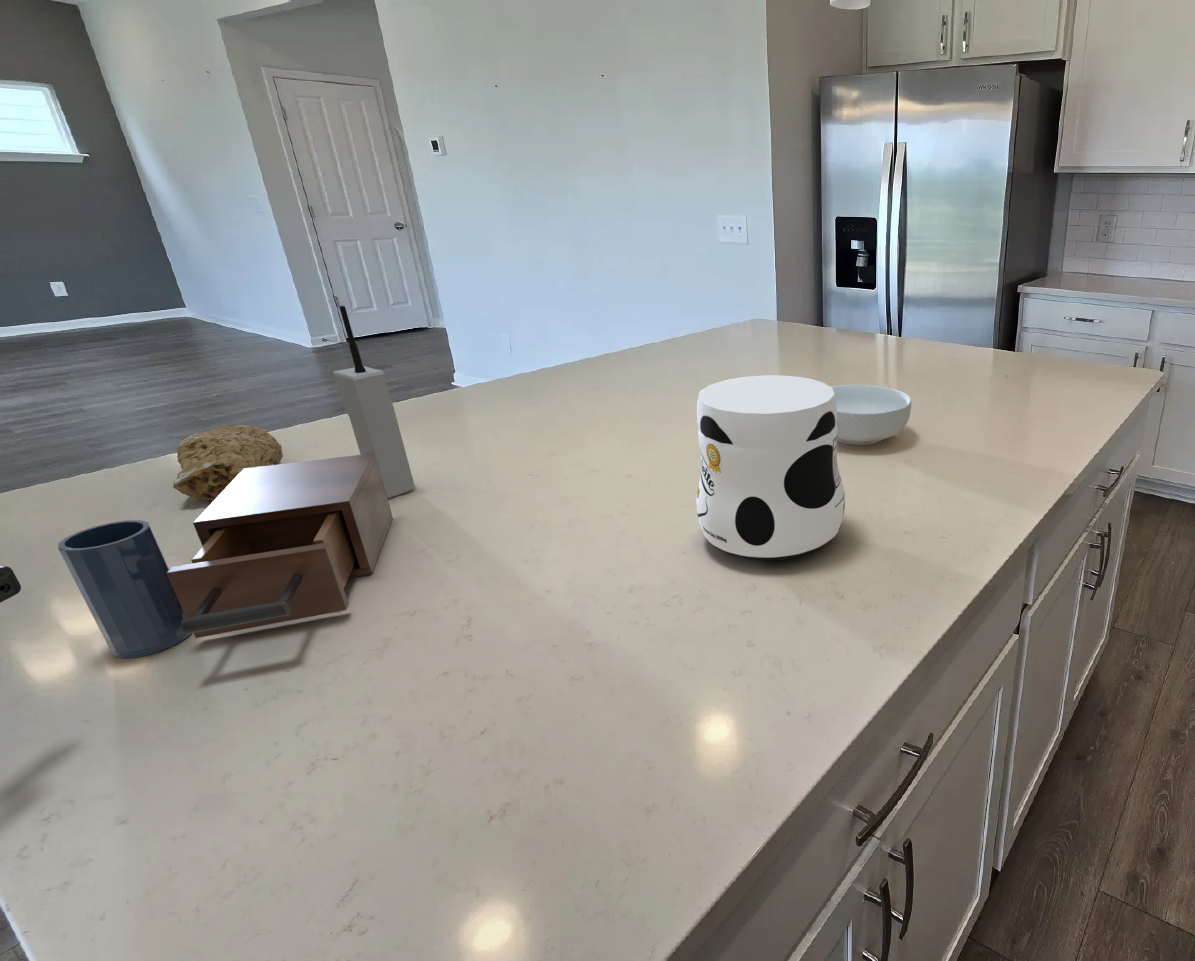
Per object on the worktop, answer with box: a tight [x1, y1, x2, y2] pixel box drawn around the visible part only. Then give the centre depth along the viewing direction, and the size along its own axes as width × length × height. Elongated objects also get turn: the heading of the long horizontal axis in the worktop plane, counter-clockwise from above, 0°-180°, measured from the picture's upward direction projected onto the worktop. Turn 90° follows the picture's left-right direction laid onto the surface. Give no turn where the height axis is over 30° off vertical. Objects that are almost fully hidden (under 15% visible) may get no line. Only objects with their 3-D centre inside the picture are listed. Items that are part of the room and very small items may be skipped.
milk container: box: [696, 374, 846, 562], centre depth 81 cm, size 17×17×18 cm
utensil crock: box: [57, 519, 192, 659], centre depth 63 cm, size 6×6×11 cm
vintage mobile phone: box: [332, 305, 416, 499], centre depth 90 cm, size 4×5×25 cm
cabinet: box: [192, 453, 394, 579], centre depth 78 cm, size 15×13×9 cm
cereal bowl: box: [829, 383, 912, 446], centre depth 115 cm, size 17×17×7 cm
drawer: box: [167, 510, 357, 639], centre depth 67 cm, size 20×12×7 cm, turn 24°
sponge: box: [173, 424, 284, 501], centre depth 97 cm, size 13×8×20 cm
